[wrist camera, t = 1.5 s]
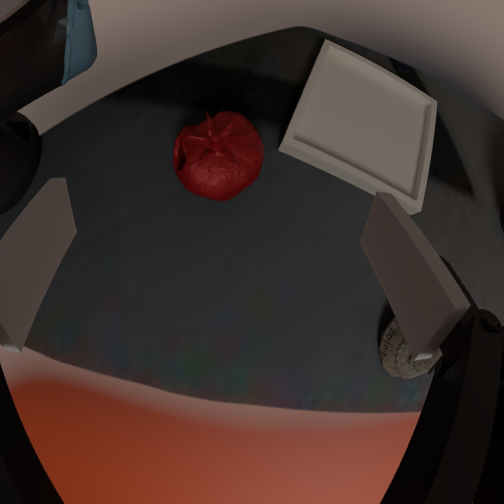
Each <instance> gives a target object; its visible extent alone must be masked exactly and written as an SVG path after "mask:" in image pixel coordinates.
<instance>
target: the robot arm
mask: <svg viewBox="0 0 504 504" xmlns="http://www.w3.org/2000/svg"><path fill="white" fill-rule="evenodd" d="M96 57H97V45H96V38H95V33H94V27H93V22H92V17H91V11H90V7H89V4H88V0H0V215H1V214H3V213H5V212H7V211H8V210H10V209H11V208H12V207H13V206H14V205H16V204H17V203H18V201H19V200H20V199H21V198H22V197H23V195H24V194H25V193H26V191H27V189H28V188H29V186H30V184H31V182H32V180H33V178H34V176H35V173H36V171H37V167H38V164H39V159H40V152H41V143H40V137H39V134H38V131H37V129H36V127H35V125H34V124H33V123H32V122H31V121H30V120H29V119H28V118H27V117H25V116H24V115H23V114H21V113H19V112H17V111H18V110H20V109H21V108H23V107H24V106H26V105H28V104H29V103H31V102H33V101H34V100H36V99H38V98H40V97H41V96H43V95H45V94H47V93H48V92H50V91H52V90H54V89H56V88H57V87H59V86H63V85H64V84H66V82H67V81H68V80H70V79H72V78H74V77H75V76H77V75H79V74H81V73H82V72H84V71H86V70H88V69H89V68H90V67H91V66H92V64H93V63H94V61H95V59H96ZM76 232H77V230H76V226H75V222H74V218H73V213H72V208H71V204H70V199H69V194H68V189H67V183H66V178H50V180H49V181H48V182H47V183H46V184H45V185H44V186H43V187H42V189H41V190H40V191H39V192H38V193H37V194H36V196H35V197H34V198H33V199H32V200H31V202H30V203H29V204H28V205H27V206H26V208H25V209H24V210H23V211H22V213H21V214H20V215H19V216H18V218H17V219H16V220H15V221H14V223H13V224H12V225H11V227H10V228H9V229H8V231H7V232H6V233H5V235H4V236H3V237H2V239H1V240H0V344H1V346H2V347H3V348H4V349H5V350H9V351H13V352H19V353H21V351H22V348H23V346H24V343H25V340H26V338H27V335H28V333H29V330H30V328H31V325H32V323H33V320H34V318H35V316H36V313H37V311H38V309H39V306H40V304H41V302H42V300H43V298H44V295H45V293H46V291H47V289H48V287H49V285H50V283H51V280H52V278H53V276H54V274H55V272H56V270H57V268H58V266H59V264H60V262H61V260H62V258H63V257H64V255H65V253H66V251H67V249H68V247H69V245H70V243H71V242H72V240H73V238H74V236H75V234H76ZM360 244H361V246H362V248H363V250H364V252H365V254H366V256H367V258H368V260H369V262H370V264H371V266H372V268H373V270H374V272H375V274H376V276H377V278H378V280H379V282H380V284H381V286H382V289H383V291H384V293H385V295H386V297H387V299H388V301H389V304H390V306H391V308H392V310H393V312H394V315H395V317H396V319H397V321H398V324H399V326H400V328H401V330H402V333H403V335H404V337H405V340H406V342H407V344H408V347H409V349H410V352H411V354H412V357H413V359H414V361H415V360H421V359H427V358H431V357H432V356H433V354H434V353H435V352H436V351H437V349H438V348H440V350H441V352H442V356H441V357H440V358H439V359H438V360H437V361H436V363H435V364H434V365H433V366H432V367H431V368H430V370H429V371H428V374H431V372H432V371H433V370H435V372H434V375H433V379H432V382H431V385H430V388H429V391H428V394H427V397H426V400H425V403H424V406H423V409H422V411H421V414H420V417H419V420H418V423H417V425H416V427H415V430H414V433H413V435H412V437H411V440H410V442H409V445H408V447H407V449H406V452H405V454H404V456H403V458H402V460H401V463H400V465H399V467H398V469H397V471H396V474H395V475H394V478H393V479H392V481H391V484H390V485H389V487H388V489H387V491H386V493H385V495H384V497H383V499H382V501H381V502H380V504H472V503H473V504H504V326H502V325H501V323H500V321H499V320H498V318H497V317H496V316H495V315H494V314H492V313H491V312H490V311H487V310H485V309H478V307H477V305H476V304H475V302H474V300H473V299H472V297H471V296H470V294H469V292H468V291H467V289H466V288H465V286H464V285H463V283H461V280H460V279H459V277H458V276H457V275H456V273H455V271H454V270H453V268H452V267H451V265H450V264H449V263H448V262H447V261H446V260H445V259H444V258H443V257H441V256H440V255H438V254H437V253H436V251H435V250H434V248H433V247H432V246H431V244H430V243H429V241H428V240H427V239H426V237H425V236H424V234H423V233H422V232H421V230H420V229H419V228H418V226H417V225H416V224H415V222H414V221H413V220H412V219H411V217H410V216H409V215H408V213H407V212H406V211H405V210H404V208H403V207H402V206H401V204H400V203H399V202H398V201H397V199H396V198H395V197H394V196H393V195H392V193H386V192H378V191H377V192H376V195H375V198H374V201H373V204H372V207H371V210H370V213H369V216H368V219H367V222H366V225H365V228H364V231H363V234H362V236H361V239H360ZM0 504H64V502H63V501H62V499H61V497H60V496H59V494H58V493H57V491H56V489H55V487H54V486H53V484H52V482H51V480H50V479H49V477H48V475H47V473H46V472H45V470H44V468H43V466H42V464H41V462H40V460H39V458H38V456H37V454H36V452H35V450H34V448H33V446H32V444H31V442H30V440H29V438H28V436H27V434H26V431H25V429H24V426H23V424H22V422H21V420H20V417H19V414H18V412H17V410H16V407H15V405H14V402H13V399H12V397H11V394H10V391H9V388H8V385H7V382H6V379H5V376H4V373H3V370H2V367H1V364H0Z"/></svg>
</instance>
